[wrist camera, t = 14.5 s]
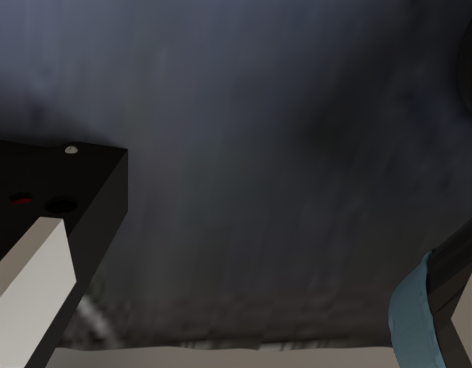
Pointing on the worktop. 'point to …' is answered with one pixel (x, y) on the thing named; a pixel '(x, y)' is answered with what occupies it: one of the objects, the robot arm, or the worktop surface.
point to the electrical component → (64, 210)
